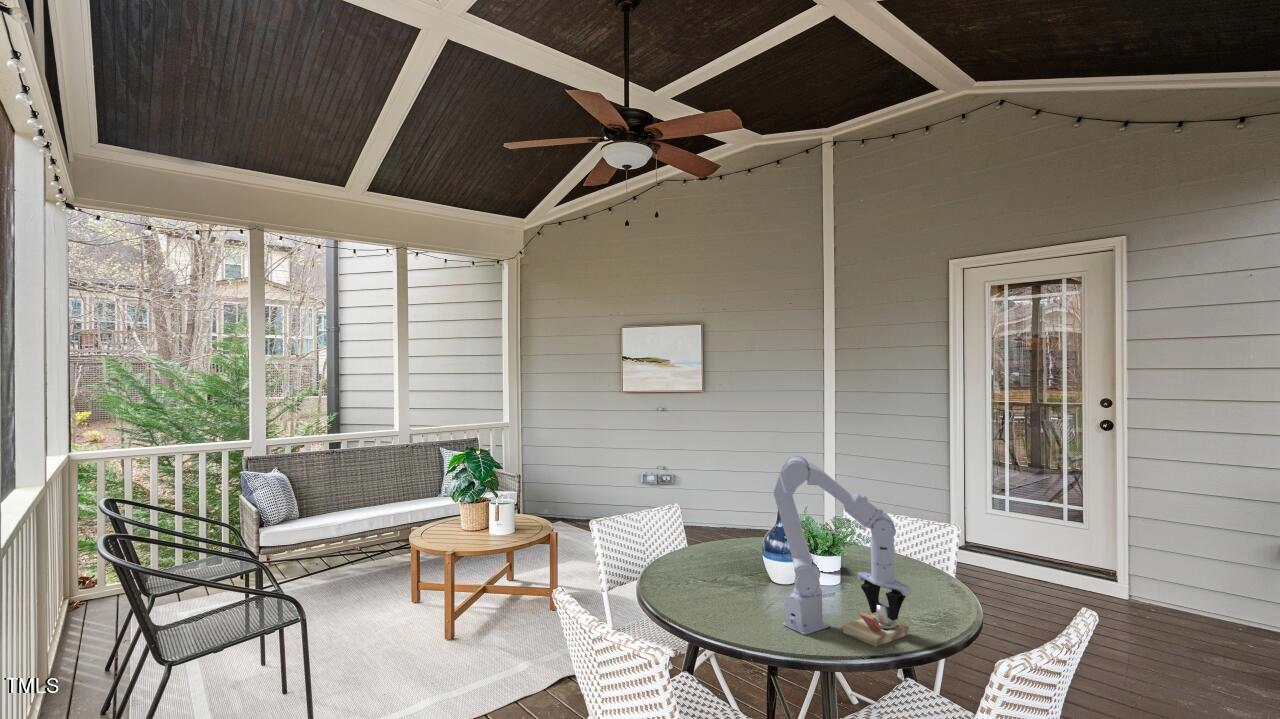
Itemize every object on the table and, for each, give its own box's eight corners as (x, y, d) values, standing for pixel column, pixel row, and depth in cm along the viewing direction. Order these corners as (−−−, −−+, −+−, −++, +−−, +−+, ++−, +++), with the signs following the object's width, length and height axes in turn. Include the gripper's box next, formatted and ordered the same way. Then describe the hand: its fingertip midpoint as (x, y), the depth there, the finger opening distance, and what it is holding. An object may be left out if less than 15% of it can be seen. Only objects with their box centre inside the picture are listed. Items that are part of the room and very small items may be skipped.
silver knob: (887, 638, 157) (886, 610, 157) (867, 630, 162) (867, 603, 162) (902, 633, 160) (901, 605, 160) (882, 625, 165) (881, 598, 165)
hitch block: (875, 646, 153) (875, 638, 153) (843, 632, 162) (842, 624, 162) (909, 634, 160) (909, 626, 160) (876, 621, 169) (876, 613, 169)
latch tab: (872, 619, 156) (874, 616, 156) (859, 614, 159) (861, 611, 160) (880, 630, 157) (882, 628, 158) (867, 625, 161) (868, 622, 161)
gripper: (918, 566, 157) (919, 621, 157) (869, 552, 170) (870, 603, 170) (900, 571, 154) (901, 628, 153) (851, 557, 166) (852, 609, 166)
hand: (884, 615), depth 161 cm, fingers open, 5 cm apart
